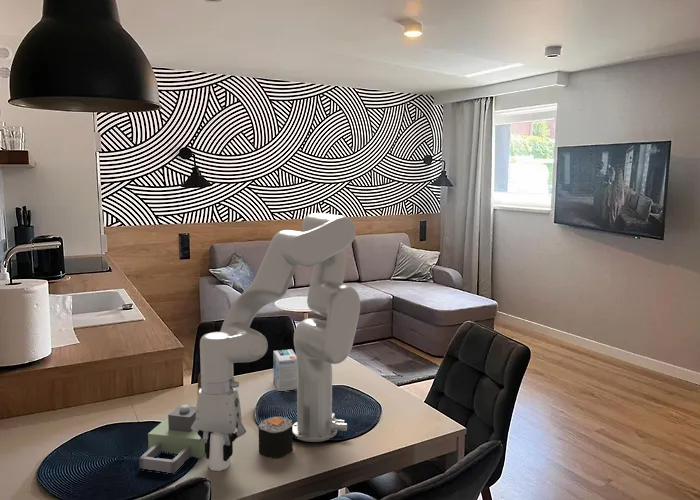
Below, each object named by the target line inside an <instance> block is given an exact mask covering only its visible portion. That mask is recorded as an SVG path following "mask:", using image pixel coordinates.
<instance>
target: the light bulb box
mask: <svg viewBox="0 0 700 500" xmlns="http://www.w3.org/2000/svg"><path fill="white" fill-rule="evenodd" d="M272 355H273V357H272V359H273V365H272V366H273V367H272V368H273V370H272V371H273V372H272V373H273V376H272V377H273V382H274V384H275V387H276V391H277V392H278V391H285V392H287V391H286V390H293V389H297V358H296V352H294V350H293V349H292V348H291V349H290V348H289V349H281V350H273V353H272Z"/></svg>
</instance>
